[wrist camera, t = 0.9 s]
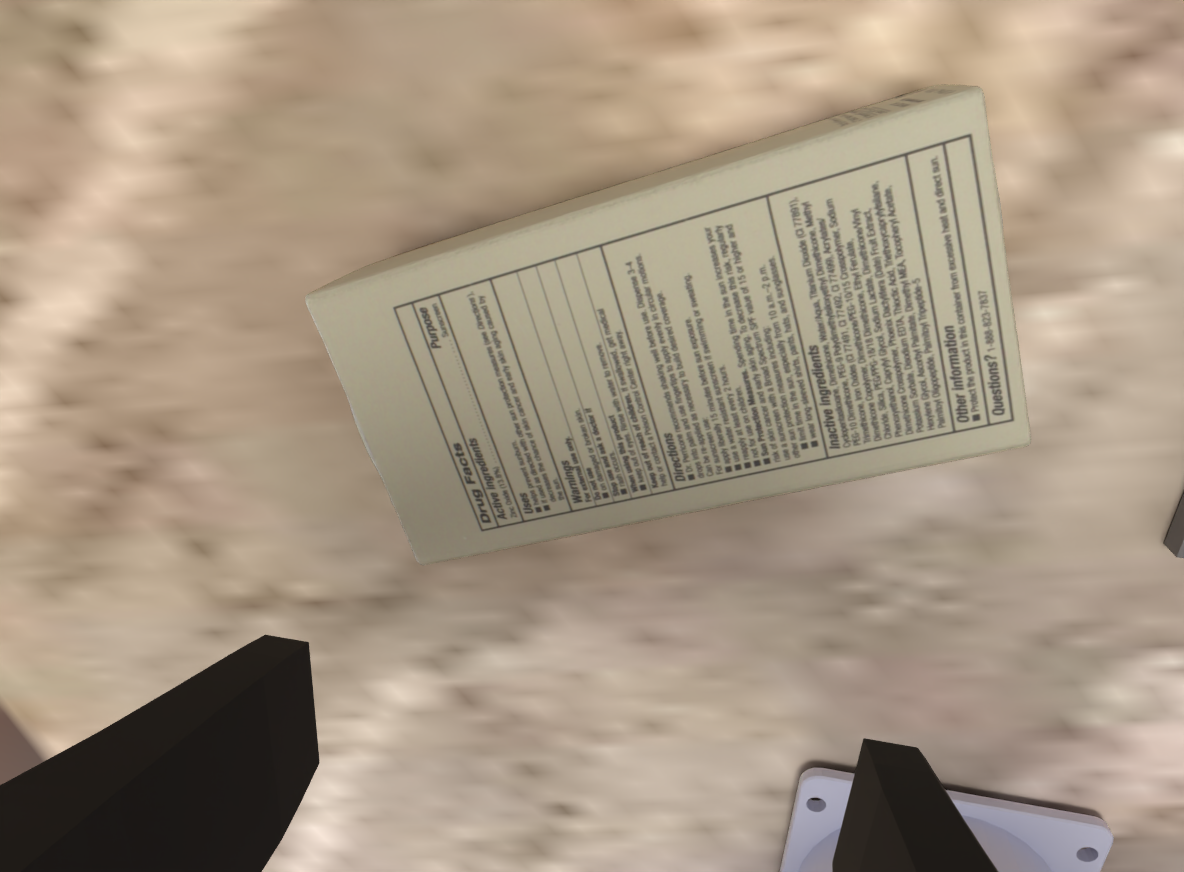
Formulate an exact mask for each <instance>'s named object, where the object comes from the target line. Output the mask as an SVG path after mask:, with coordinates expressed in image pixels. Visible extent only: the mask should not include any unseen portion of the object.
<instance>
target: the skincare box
mask: <svg viewBox="0 0 1184 872" xmlns="http://www.w3.org/2000/svg"><path fill="white" fill-rule="evenodd" d="M306 304H307V307H308V310H309V311H310V313H311V315H312V318H313V320H314V322H315V324H316V327H317V329H318V331H319V333H320V335H321V338H322V340H323V342H324V344H325V346H326V349H327V352H328V354H329V356H330V359H331V361H332V363H333V366H334V368H335V370H336V372H337V375H338V377H339V379H340V381H341V384H342V386H343V388H344V391H345V393H346V396H347V398H348V401H349V404H350V406H351V411H352V414H353V417H354V420H355V423H356V426H357V428H358V431H359V433H360V436H361V438H362V441H363V443H364V445H365V448H366V450H367V452H368V454H369V456H370V458H371V460H372V462H373V464H374V465H375V467H376V469H377V470H378V472H379V474H380V476H381V478H382V480H383V482H384V484H385V487H386V489H387V491H388V494H389V496H390V499H391V502H392V504H393V506H394V508H395V510H396V512H397V515H398V517H399V520H400V522H401V524H402V527H403V529H404V531H405V534H406V536H407V538H408V541H409V543H410V545H411V548H412V551H413V553H414V556H415V558H416V560H417V562H418V563H420V564H421V565H428V564H433V563H438V562H443V561H448V560H453V559H458V558H464V557H469V556H474V555H479V554H484V553H489V552H494V551H499V550H504V549H509V548H514V547H519V546H524V545H529V544H535V543H540V542H545V541H550V540H555V539H560V538H565V537H570V536H575V535H580V534H585V533H590V532H595V531H600V530H605V529H610V528H615V527H620V526H625V525H630V524H636V523H641V522H646V521H651V520H656V519H662V518H667V517H672V516H677V515H682V514H687V513H692V512H697V511H703V510H708V509H713V508H718V507H722V506H727V505H732V504H737V503H742V502H747V501H752V500H757V499H762V498H767V497H773V496H778V495H783V494H788V493H793V492H798V491H803V490H808V489H813V488H818V487H823V486H828V485H833V484H839V483H845V482H850V481H855V480H860V479H865V478H870V477H875V476H880V475H885V474H890V473H895V472H900V471H905V470H910V469H915V468H920V467H925V466H931V465H936V464H941V463H947V462H952V461H957V460H961V459H966V458H972V457H977V456H982V455H987V454H992V453H997V452H1002V451H1006V450H1011V449H1017V448H1022V447H1026V446H1028V445H1029V444H1030V443H1031V435H1030V426H1029V419H1028V414H1027V406H1026V397H1025V389H1024V381H1023V374H1022V367H1021V359H1020V351H1019V344H1018V337H1017V331H1016V324H1015V317H1014V310H1013V304H1012V297H1011V289H1010V282H1009V276H1008V268H1007V260H1006V251H1005V244H1004V236H1003V223H1002V214H1001V205H1000V199H999V193H998V188H997V182H996V174H995V168H994V164H993V159H992V152H991V144H990V137H989V130H988V122H987V115H986V106H985V97H984V93H983V90H982V89H981V88H980V87H978V86H965V85H936V86H930V87H927V88H924V89H920V90H917V91H914V92H911V93H908V94H905V95H901V96H898V97H895V98H892V99H889V100H886V101H882V102H879V103H876V104H873V105H869V106H866V107H863V108H860V109H856V110H853V111H850V112H847V113H844V114H840V115H837V116H834V117H831V118H828V119H824V120H821V121H818V122H815V123H812V124H809V125H806V126H802V127H799V128H796V129H793V130H790V131H787V132H783V133H780V134H777V135H774V136H771V137H768V138H765V139H761V140H758V141H755V142H752V143H749V144H745V145H742V146H739V147H736V148H733V149H730V150H726V151H723V152H720V153H717V154H714V155H711V156H707V157H704V158H701V159H698V160H695V161H692V162H688V163H685V164H682V165H679V166H676V167H673V168H669V169H666V170H663V171H660V172H657V173H653V174H650V175H647V176H644V177H641V178H638V179H634V180H631V181H628V182H625V183H622V184H619V185H615V186H612V187H609V188H606V189H603V190H599V191H596V192H593V193H590V194H587V195H584V196H580V197H577V198H574V199H571V200H568V201H565V202H561V203H558V204H555V205H552V206H549V207H545V208H542V209H539V210H536V211H533V212H530V213H526V214H523V215H520V216H517V217H514V218H511V219H507V220H504V221H501V222H498V223H495V224H492V225H489V226H486V227H483V228H480V229H477V230H474V231H470V232H467V233H464V234H461V235H458V236H455V237H452V238H449V239H446V240H442V241H439V242H436V243H433V244H430V245H427V246H424V247H420V248H417V249H414V250H411V251H408V252H405V253H403V254H400V255H396V256H393V257H390V258H388V259H385V260H382V261H379V262H376V263H373V264H371V265H368V266H365V267H363V268H361V269H358V270H356V271H354V272H352V273H350V274H348V275H346V276H343V277H341V278H339V279H337V280H335V281H333V282H331V283H329V284H327V285H325V286H323V287H321V288H319V289H317V290H315V291H313V292H311V293H309V294H307V295H306Z"/></svg>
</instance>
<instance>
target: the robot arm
mask: <svg viewBox="0 0 1184 872" xmlns="http://www.w3.org/2000/svg"><path fill="white" fill-rule="evenodd" d="M318 765H319V752H318V741H317V730H316V719H315V708H314V697H313V685H312V674H311V663H310V652H309V642H304V641H298V640H293V639H287V638H281V637H275V636H269V635H264V636H262V637H260V638H259V639H257V640H255V641H253V642H251V643H249V644H247V645H246V646H244V647H242V648H240V649H239V650H237V651H235V652H234V653H232V654H230V655H228V656H227V657H225V658H223V659H222V660H220V661H218V662H217V663H215V664H213V665H212V666H210V667H208V668H206V669H205V670H203V671H201V672H200V673H198V674H196V675H195V676H193V677H191V678H190V679H188V680H186V681H185V682H183V683H181V684H180V685H178V686H176V687H175V688H173V689H171V690H170V691H168V692H166V693H165V694H163V695H161V696H159V697H158V698H156V699H154V700H153V701H151V702H149V703H148V704H146V705H144V706H142V707H141V708H139V709H137V710H136V711H134V712H132V713H130V714H129V715H127V716H125V717H124V718H122V719H120V720H119V721H117V722H115V723H113V724H112V725H110V726H108V727H107V728H105V729H103V730H101V731H100V732H98V733H96V734H94V735H92V736H91V737H89V738H87V739H85V740H83V741H81V742H79V743H78V744H76V745H74V746H72V747H70V748H68V749H67V750H65V751H63V752H61V753H59V754H57V755H55V756H54V757H52V758H50V759H48V760H46V761H44V762H43V763H41V764H39V765H37V766H35V767H34V768H32V769H30V770H28V771H26V772H24V773H22V774H21V775H19V776H17V777H15V778H13V779H11V780H10V781H8V782H6V783H4V784H2V785H0V872H262V870H263V868H264V867H265V865H266V864H267V862H268V861H269V859H270V857H271V856H272V854H273V853H274V851H275V849H276V848H277V846H278V845H279V843H280V841H281V840H282V838H283V836H284V834H285V832H286V830H287V828H288V826H289V824H290V822H291V820H292V819H293V817H294V815H295V813H296V811H297V809H298V807H299V805H300V803H301V801H302V798H303V796H304V794H305V792H306V790H307V788H308V786H309V784H310V782H311V779H312V777H313V775H314V773H315V771H316V769H317V767H318ZM816 797H818V798H820V799H821V800H819V801H813V800H811V798H816ZM1113 838H1114V837H1113V835H1112V833H1111V831H1110V829H1109V827H1108V825H1107V823H1106V822H1105V821H1104V820H1102V819H1101V818H1098V817H1095V816H1090V815H1085V814H1079V813H1073V812H1068V811H1062V810H1057V809H1051V808H1045V807H1040V806H1034V805H1028V804H1023V803H1017V802H1012V801H1006V800H1000V799H995V798H989V797H983V796H978V795H972V794H966V793H961V792H955V791H950V790H945V789H944V787H943V785H942V784H941V782H940V781H939V779H938V778H937V776H936V774H935V773H934V771H933V770H932V768H931V766H930V765H929V763H928V762H927V760H926V758H925V757H924V756H923V754H922V753H921V752H920V750H919V749H918V748H916V747H910V746H905V745H899V744H893V743H887V742H882V741H876V740H870V739H863V743H862V747H861V751H860V755H859V759H858V763H857V767H856V771H855V774H854V773H848V772H843V771H837V770H831V769H826V768H811V769H807V770H806V771H805V772H803V773H802V775H801V777H800V780H799V784H798V789H797V794H796V798H795V803H794V807H793V812H792V817H791V821H790V826H789V831H788V835H787V840H786V844H785V849H784V854H783V858H782V863H781V868H780V872H1100V871H1101V869H1102V867H1103V864H1104V862H1105V860H1106V858H1107V855H1108V853H1109V851H1110V848H1111V846H1112V844H1113ZM1084 847H1089V848H1086V849H1081V848H1084Z"/></svg>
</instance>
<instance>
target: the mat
mask: <svg viewBox="0 0 1184 872" xmlns="http://www.w3.org/2000/svg"><path fill="white" fill-rule="evenodd" d="M1164 544H1165V545H1166V547H1167V548H1168V549H1169V550H1170V551H1171V552H1172V553H1173V554H1174V555H1175V556H1176V557H1179V558H1184V494H1183V496H1182V499H1181V501H1180V504H1179V506H1178V509H1177V511H1176V514H1175V516H1174V519H1173V522H1172V524H1171V527H1170V529H1169V532H1168V534H1167V537H1166V539H1165V542H1164Z"/></svg>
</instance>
